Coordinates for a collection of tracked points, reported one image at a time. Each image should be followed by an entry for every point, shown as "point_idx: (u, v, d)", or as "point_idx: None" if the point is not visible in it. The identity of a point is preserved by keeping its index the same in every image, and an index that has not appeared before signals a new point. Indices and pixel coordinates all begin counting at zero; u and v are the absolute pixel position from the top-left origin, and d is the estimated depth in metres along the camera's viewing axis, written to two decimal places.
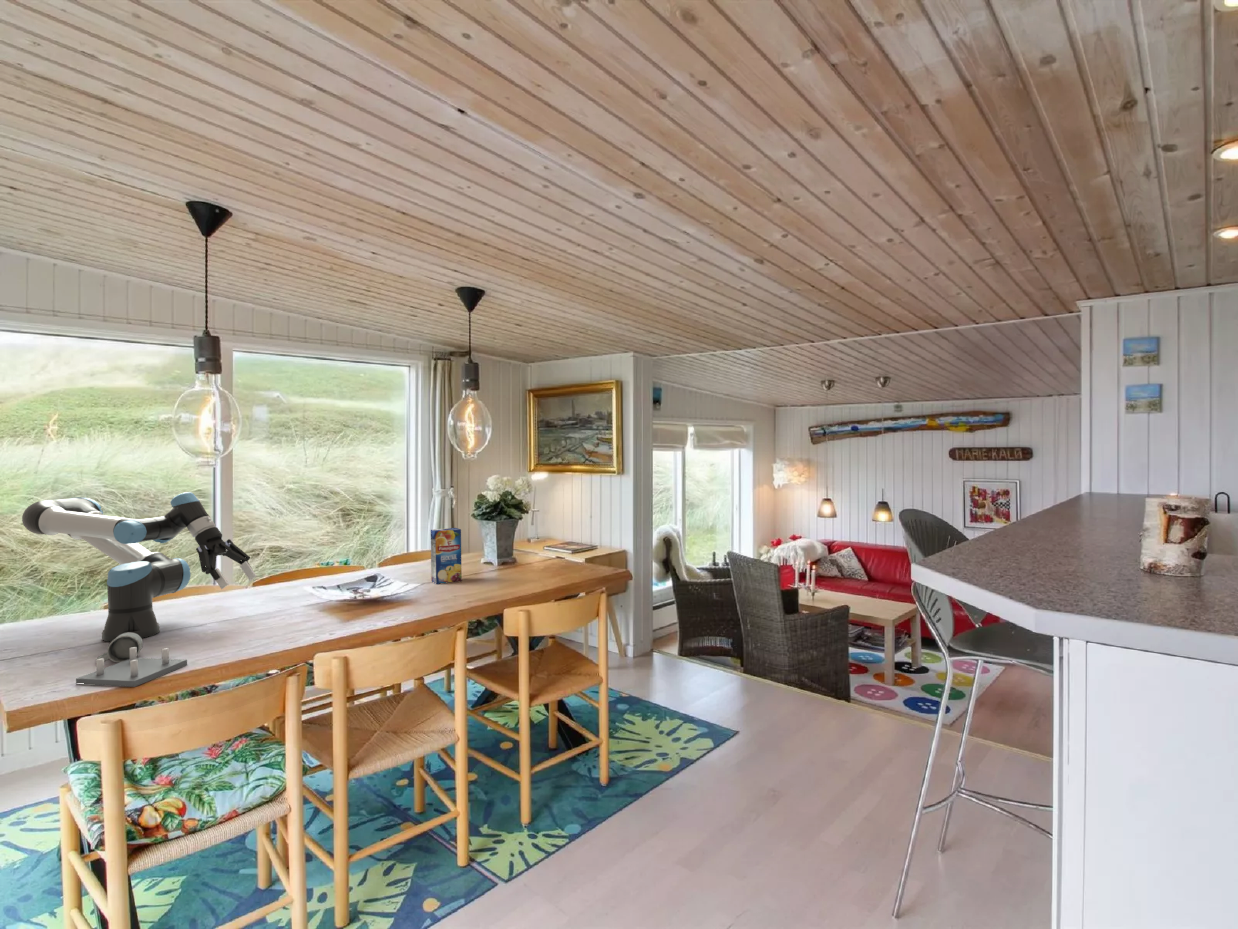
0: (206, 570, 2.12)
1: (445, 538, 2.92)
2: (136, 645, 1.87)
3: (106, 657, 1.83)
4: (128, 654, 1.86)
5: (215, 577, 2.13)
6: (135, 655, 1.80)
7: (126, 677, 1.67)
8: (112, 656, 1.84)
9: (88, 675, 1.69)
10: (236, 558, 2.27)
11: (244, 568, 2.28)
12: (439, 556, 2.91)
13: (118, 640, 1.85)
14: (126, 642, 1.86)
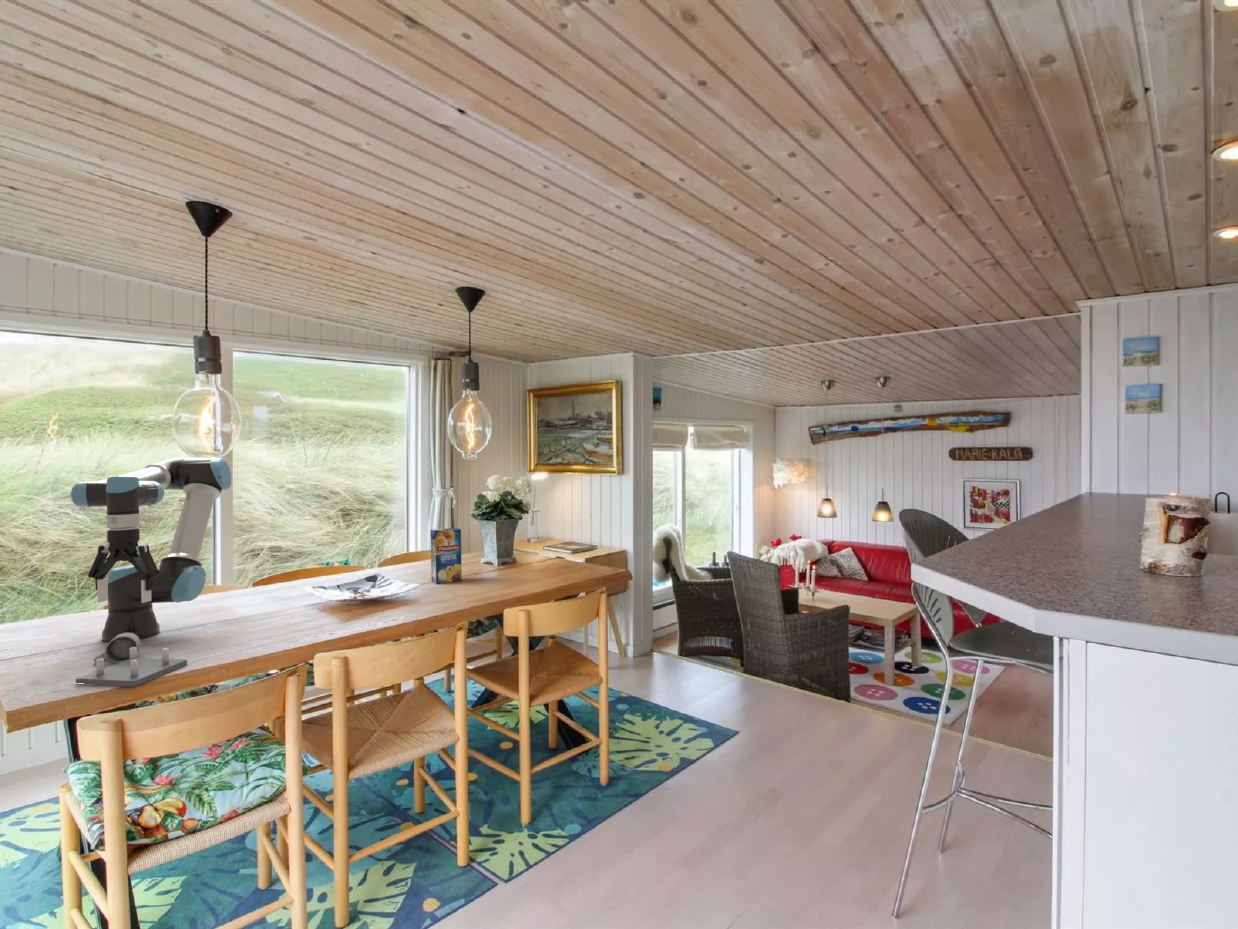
0: None
1: (445, 538, 2.92)
2: (134, 645, 1.87)
3: (104, 657, 1.83)
4: (126, 654, 1.85)
5: None
6: (135, 655, 1.80)
7: (126, 677, 1.67)
8: (110, 656, 1.84)
9: (88, 675, 1.69)
10: None
11: None
12: (439, 556, 2.91)
13: (116, 640, 1.84)
14: (124, 642, 1.85)
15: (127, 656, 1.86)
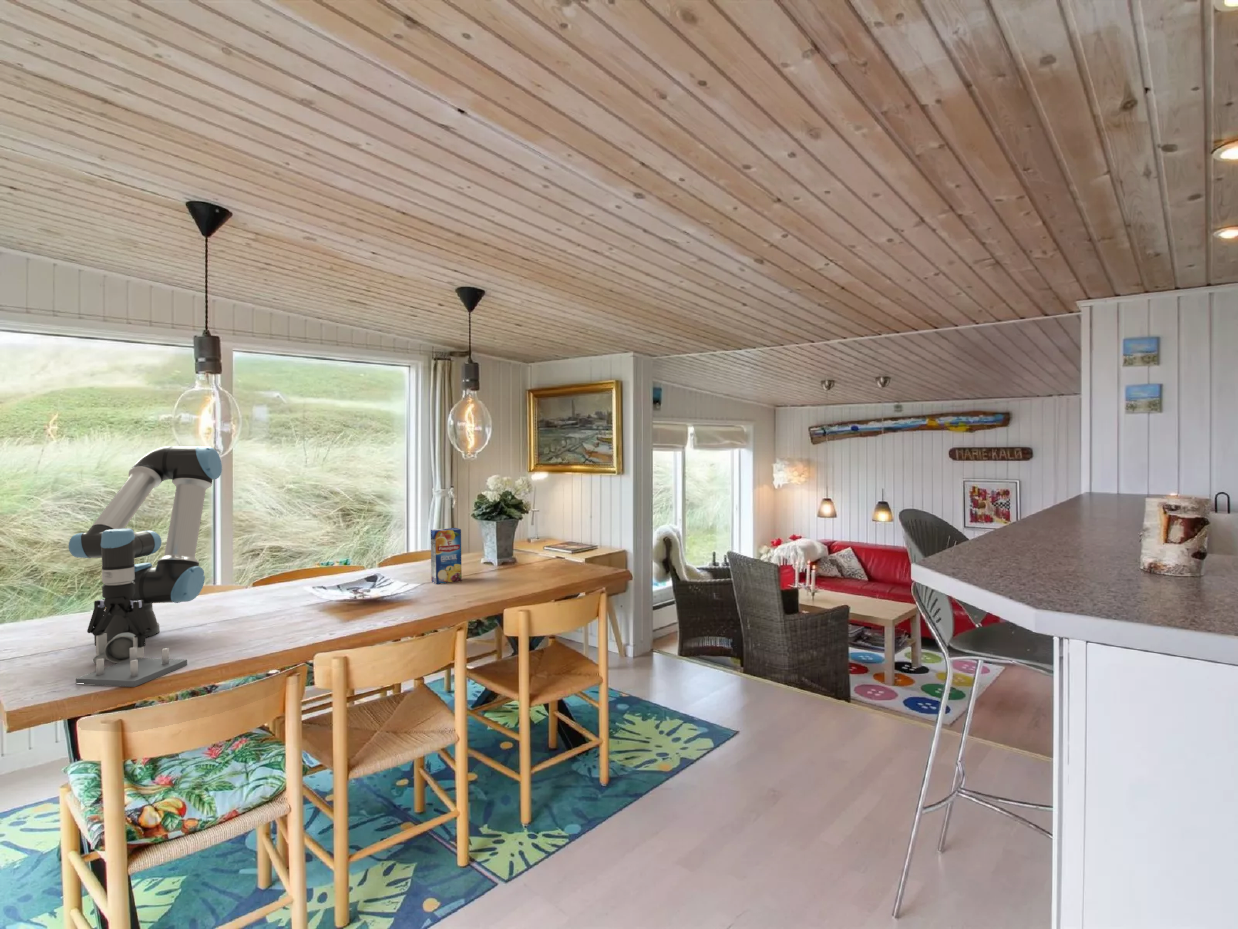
0: None
1: (445, 538, 2.92)
2: None
3: (103, 657, 1.82)
4: (125, 654, 1.85)
5: None
6: (135, 655, 1.80)
7: (126, 677, 1.67)
8: (109, 656, 1.84)
9: (88, 675, 1.69)
10: None
11: None
12: (439, 556, 2.91)
13: (115, 640, 1.84)
14: (123, 642, 1.85)
15: (126, 656, 1.85)
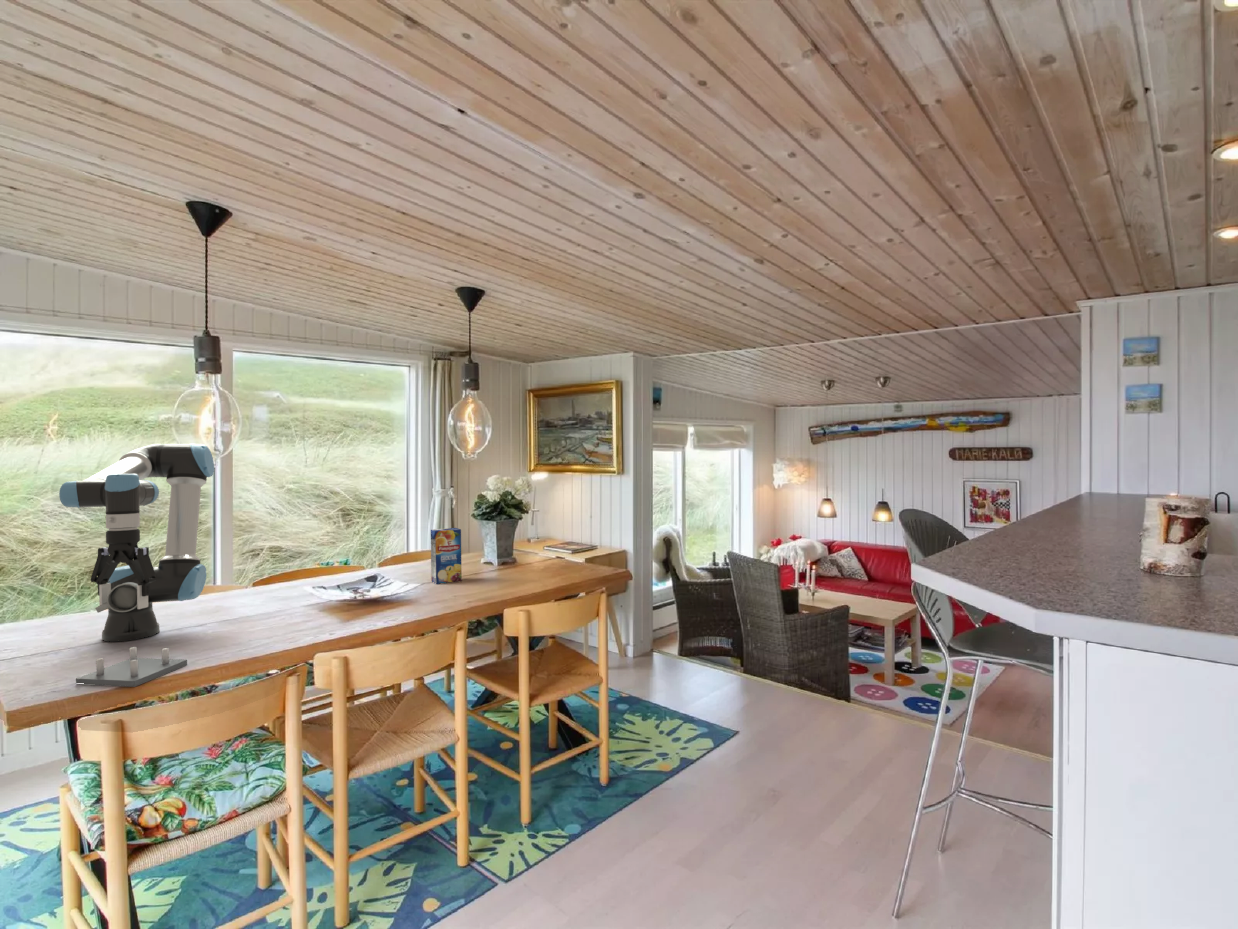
0: None
1: (445, 538, 2.92)
2: None
3: (106, 606, 1.75)
4: (129, 603, 1.78)
5: None
6: (135, 655, 1.80)
7: (126, 677, 1.67)
8: (112, 605, 1.76)
9: (88, 675, 1.69)
10: None
11: None
12: (439, 556, 2.91)
13: (118, 588, 1.77)
14: (127, 591, 1.78)
15: (130, 605, 1.78)
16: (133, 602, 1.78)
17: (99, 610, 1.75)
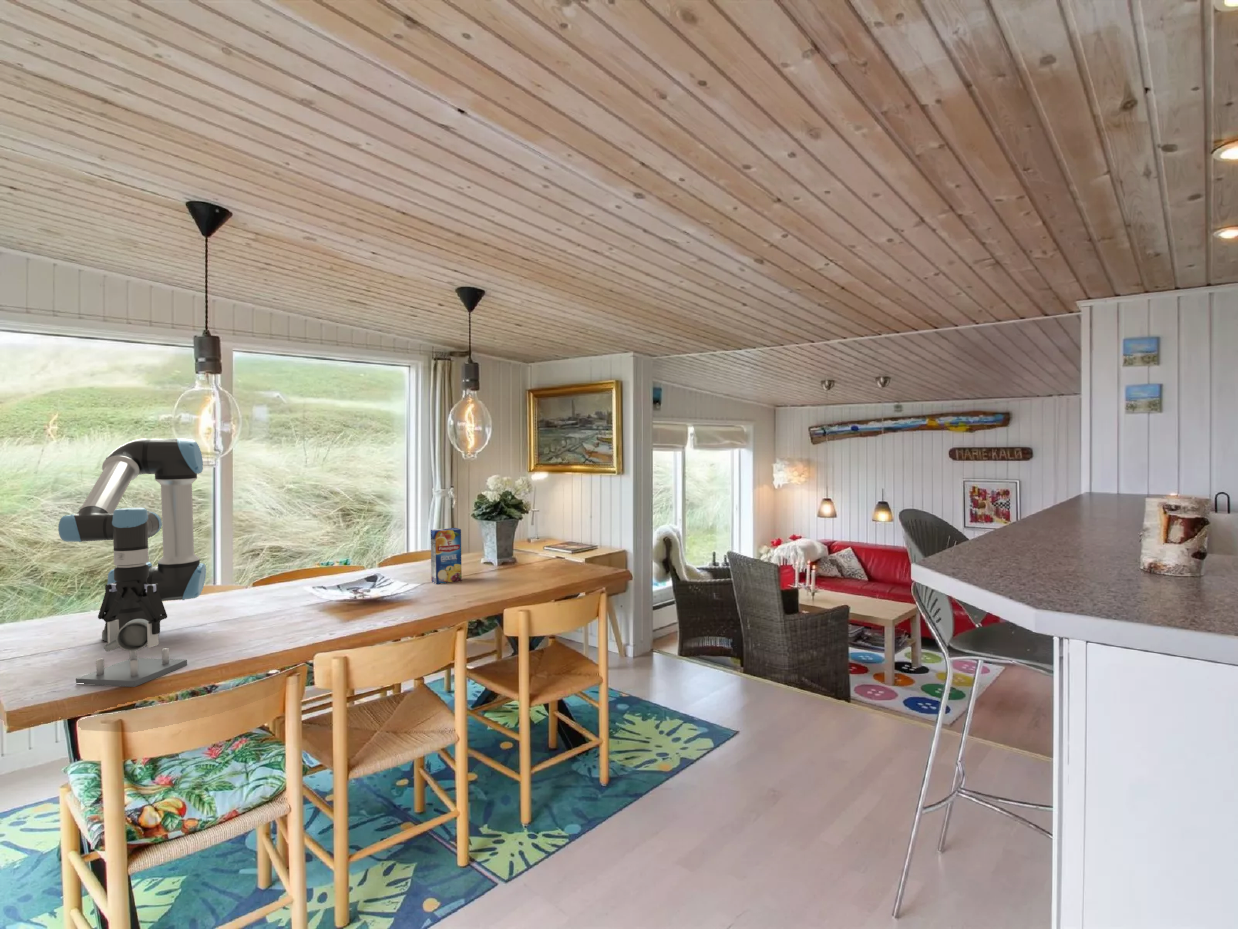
0: None
1: (445, 538, 2.92)
2: None
3: (115, 645, 1.70)
4: (138, 642, 1.73)
5: None
6: (135, 655, 1.80)
7: (126, 677, 1.67)
8: (121, 644, 1.72)
9: (88, 675, 1.69)
10: None
11: None
12: (439, 556, 2.91)
13: (128, 627, 1.72)
14: (137, 629, 1.73)
15: (140, 643, 1.73)
16: (143, 640, 1.73)
17: (108, 649, 1.70)
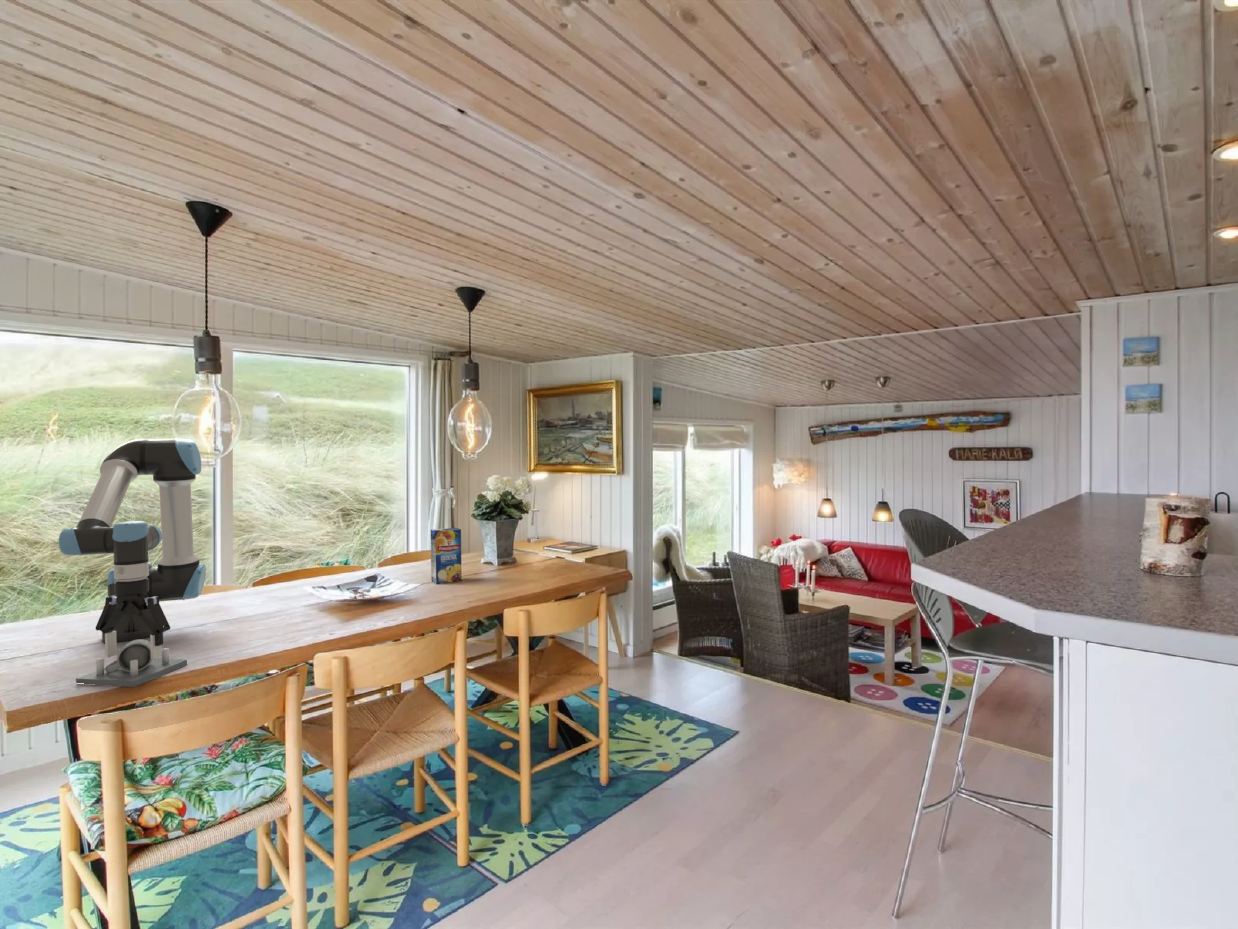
0: None
1: (445, 538, 2.92)
2: (148, 653, 1.75)
3: (116, 666, 1.70)
4: (139, 663, 1.73)
5: None
6: None
7: (126, 677, 1.67)
8: (122, 665, 1.72)
9: (88, 675, 1.69)
10: None
11: None
12: (439, 556, 2.91)
13: (129, 648, 1.72)
14: (138, 650, 1.73)
15: (141, 664, 1.73)
16: (144, 661, 1.74)
17: (109, 671, 1.70)
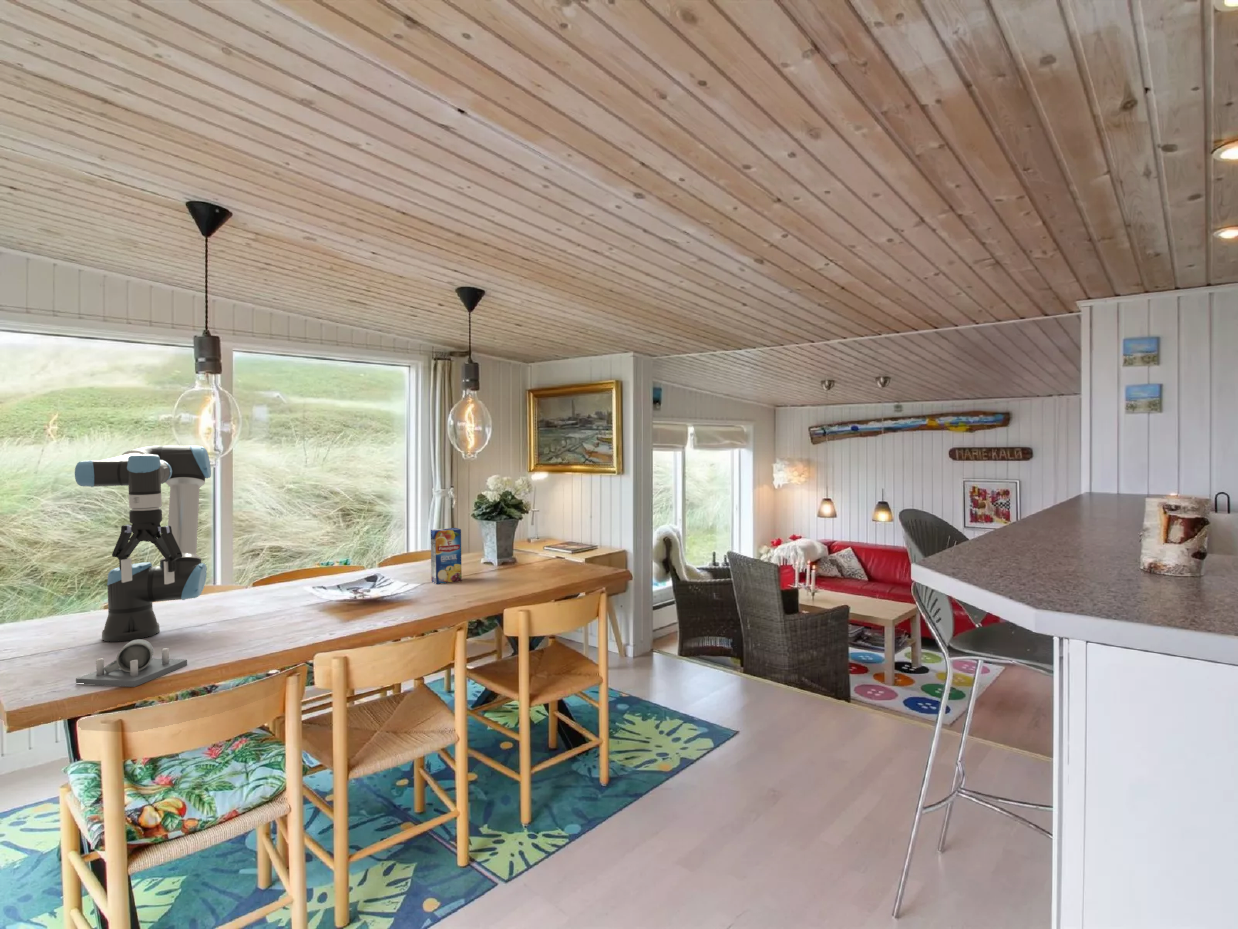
0: None
1: (445, 538, 2.92)
2: (147, 653, 1.75)
3: (115, 666, 1.70)
4: (139, 663, 1.73)
5: None
6: None
7: (126, 677, 1.67)
8: (122, 665, 1.72)
9: (88, 675, 1.69)
10: None
11: None
12: (439, 556, 2.91)
13: (128, 648, 1.72)
14: (137, 650, 1.73)
15: (140, 664, 1.73)
16: (143, 661, 1.74)
17: (108, 671, 1.70)
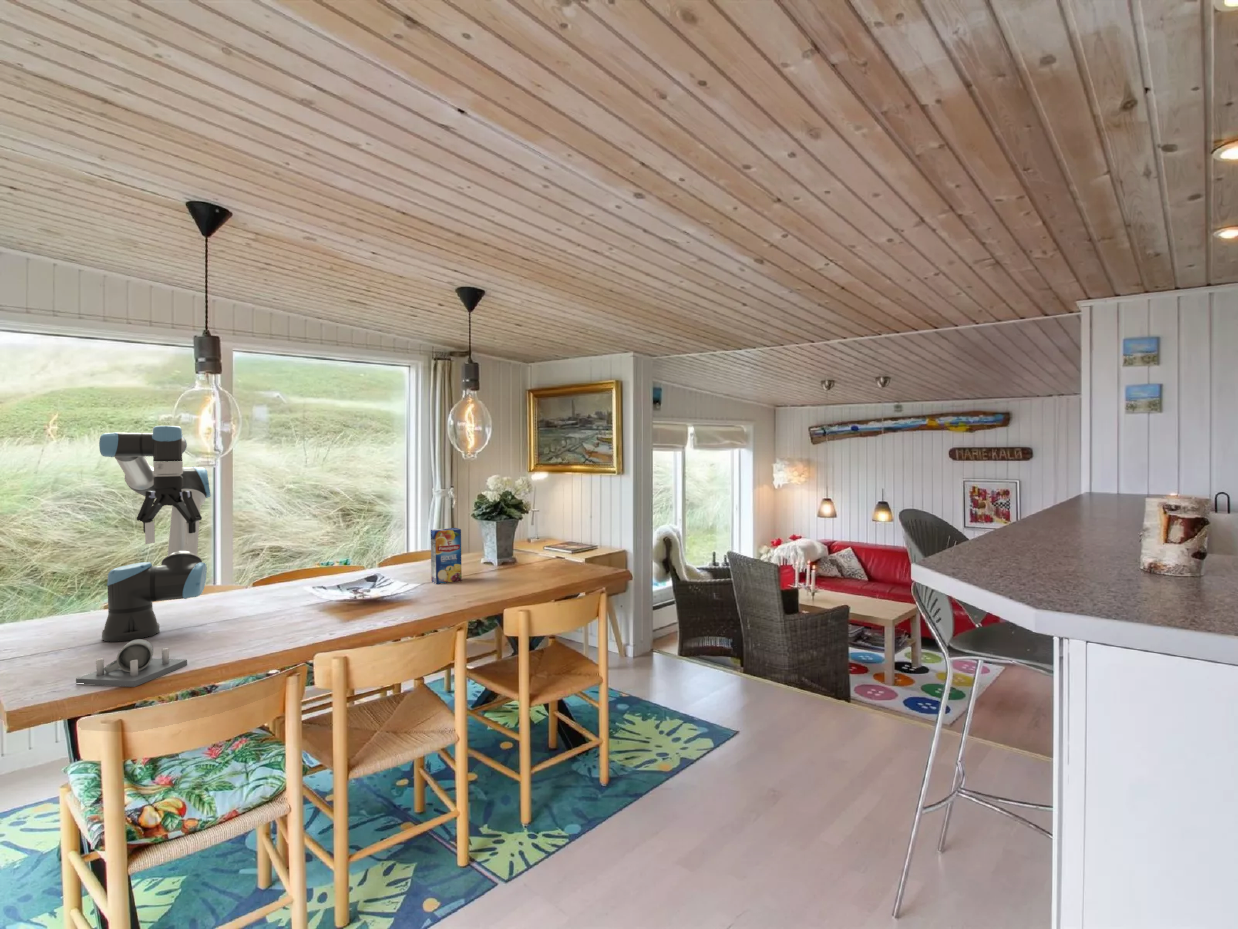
0: None
1: (445, 538, 2.92)
2: (147, 653, 1.75)
3: (115, 666, 1.70)
4: (139, 662, 1.73)
5: None
6: None
7: (126, 677, 1.67)
8: (122, 665, 1.72)
9: (88, 675, 1.69)
10: None
11: None
12: (439, 556, 2.91)
13: (128, 648, 1.72)
14: (137, 650, 1.73)
15: (140, 664, 1.73)
16: (143, 661, 1.74)
17: (108, 671, 1.70)
